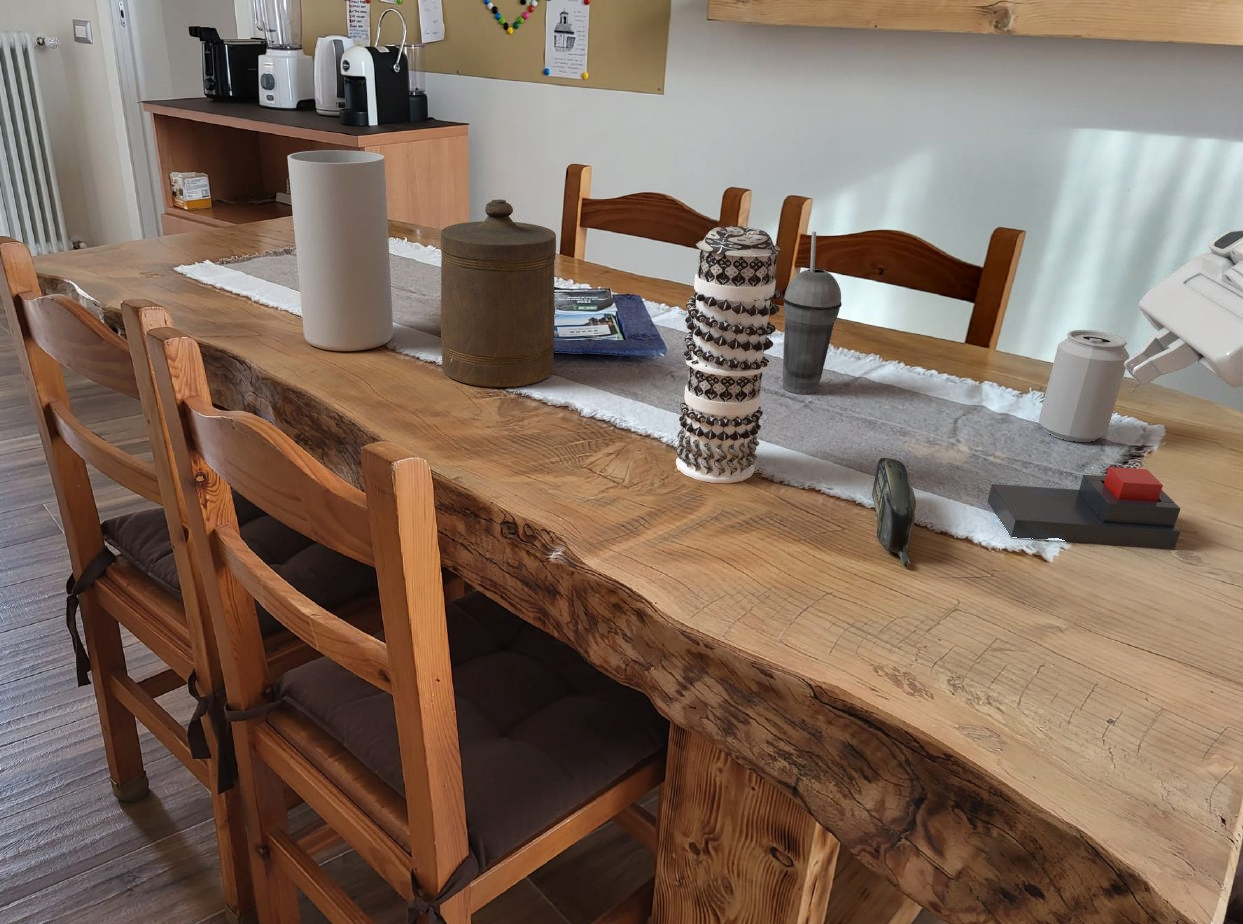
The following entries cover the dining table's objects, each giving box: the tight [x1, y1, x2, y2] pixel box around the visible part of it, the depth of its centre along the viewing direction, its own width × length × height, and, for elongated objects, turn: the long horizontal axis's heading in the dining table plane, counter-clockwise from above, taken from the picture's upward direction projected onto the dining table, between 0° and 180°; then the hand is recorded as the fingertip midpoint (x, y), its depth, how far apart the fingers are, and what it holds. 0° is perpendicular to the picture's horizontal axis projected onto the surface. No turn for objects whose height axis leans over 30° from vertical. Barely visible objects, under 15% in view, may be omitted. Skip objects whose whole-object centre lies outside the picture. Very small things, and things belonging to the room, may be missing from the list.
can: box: [1038, 329, 1130, 443], centre depth 116 cm, size 8×8×12 cm
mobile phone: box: [871, 457, 917, 568], centre depth 94 cm, size 5×3×15 cm
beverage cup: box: [782, 231, 843, 395], centre depth 126 cm, size 7×7×20 cm
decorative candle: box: [675, 225, 783, 484], centre depth 101 cm, size 9×9×25 cm
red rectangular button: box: [1104, 466, 1164, 502], centre depth 95 cm, size 4×4×2 cm
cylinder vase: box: [287, 149, 394, 352], centre depth 137 cm, size 12×12×25 cm
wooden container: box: [440, 199, 557, 388], centre depth 128 cm, size 15×15×22 cm
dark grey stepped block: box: [987, 474, 1181, 551], centre depth 96 cm, size 15×8×4 cm, turn 85°
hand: (1132, 374), depth 92 cm, fingers closed
